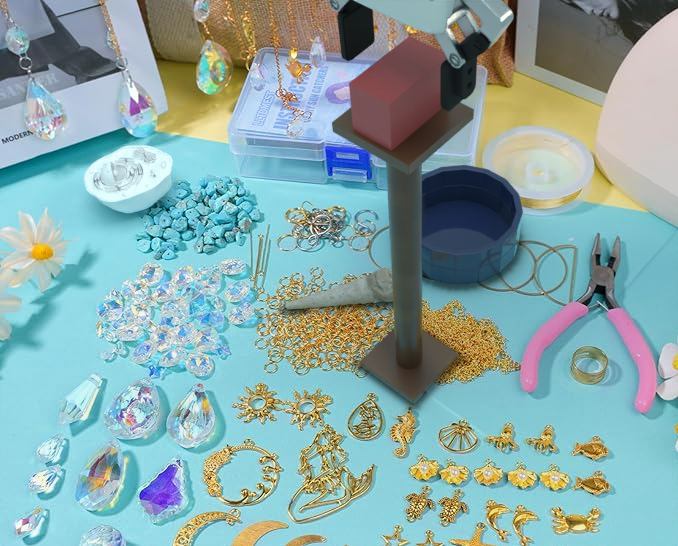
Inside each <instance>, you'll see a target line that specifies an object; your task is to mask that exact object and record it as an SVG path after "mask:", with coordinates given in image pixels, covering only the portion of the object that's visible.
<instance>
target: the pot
mask: <svg viewBox="0 0 678 546" xmlns="http://www.w3.org/2000/svg"><path fill="white" fill-rule="evenodd" d="M523 215H524V210H523V205H522V201H521V196H520V194H519V192H518V191H517V190H516V188H515V187H514V186H513V185H512V184H511V183H510V182H509V181H508V179H506V177H503V176H501V175H499V174H498V173H496V172H494V171H492V170H490V169H488V168H485V167H480V166H475V165H474V166H473V165H470V164H469V165H468V164H458V165H446V166H439V167H438V168H435V169H433V170H430V171H428V172H425V173H422V276H423V275H424V276H425V277H427V278H429V279H430V280H433V281H437V282H441V283H445V284H450V285H466V284H475V283H480V282H483V281H485V280H487V279H491V278H492V277H494V276H496V275H499V274H500V273H501V272H502V271H503V270H504V269H505V268H506V267H507V266H508V265H509V264H510V263H511V262H512V261H514V259H515V255H516V253H517V249H518V246H519V243H520V237H521V229H522V222H523Z"/></svg>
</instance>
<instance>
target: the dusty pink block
mask: <svg viewBox="0 0 678 546" xmlns="http://www.w3.org/2000/svg"><path fill="white" fill-rule="evenodd" d="M446 59H447V58H446V56H445V54H444V53H443V51H442V50H440V49H439V48H437V47H433V46H432V45H430V44H429V43H426V42H424V41H421V40H420V39H417V38H415V37H413V36H411V35H409V36H408V37H406V38H405V39H403V40H402V41H401V42H400V43H398V44H397V45H396V46H394V47H393V48H392V49H390V51H388V52H387V53H385V54H384V55H383V56H381V57H380V58H379V59H377V60H376V61H375V62H374V63H373V64H371V65H370V66H369V67H368V68H366V69H365V70H364V71H362V72H361V73H360V74H358V75H357V76H356V77H354V78H353V79H352V80H351V81H350V82H348V89H349V100H350V108H351V112H352V122H353V130H355V131H356V132H358V133H360V134H362V135H364V136H365V137H367V138H369V139H371V140H373V141H374V142H376V143H378V144H380V145H381V146H383V147H385V148H387V149H389V150H390V151H392V150H393V149H395V148H396V147H397V146H398V145H399V144H401V143H402V142H403V141H404V140H405V139H406V138H408V137H409V136H410V135H411V134H412V133H414V132H415V131H416V130H417V129H418V128H419V127H421V126H422V125H423V124H424V123H425V122H427V121H428V120H429V119H430V118H431V117H432V116H434V115H435V114H436V113H437V112H438V111H440V110H441V109H442V107H441V105H440V68H441V64H442V63H443V62H444V61H445V60H446Z"/></svg>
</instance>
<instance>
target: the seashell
mask: <svg viewBox="0 0 678 546" xmlns="http://www.w3.org/2000/svg"><path fill="white" fill-rule="evenodd" d="M383 302H385V303H391V302H392V303H393V289H392V269H391V268H389V267H384V268H381V269H376V271H374V272H373V273H370V274H366V275H362V276H361V277H360V278H356V279H351V281H350V282H346V283H343V284H341V285H337V286H335V287H332V288H328V289H327V290H321V291H318V292H316V293H313V294H308V295H306V296H303V297H299V298H297V299H293V300H290V301H287V302H286V304H285V308H286V310H300V309H301V310H302V309H312V308H313V309H315V308H324V307H328V308H329V307H330V308H331V307H338V306H347V305H352V306H355V305H358V304H361V305H366V304H368V303H370V304H371V303H373V304H376V303H383Z"/></svg>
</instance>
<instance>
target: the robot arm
mask: <svg viewBox="0 0 678 546" xmlns="http://www.w3.org/2000/svg"><path fill="white" fill-rule="evenodd" d="M328 5H329V7H330V8H331V10H333V11H334V12H336V13H337V14H336V20H337V26H338V27H337V28H338V37H339V47H340V55H341V58H342V60H345V61H347V62H351V61H353V60H354V59H355V58H357V57H358V56H359V55H361V54H362V53H363V52H364V51H366V50H367V49H368V48H369V47H371V46H372V45H373V44H374V43H375V40H376V38H375V36H376V35H375V23H374V12H377V13H379V14H381V15H383V16H386V17H387V18H390V19H392V20H394V21H397V22H399V23H401V24H403V25H405V26H408V27H410V28H413V29H415V30H418V31H420V32H421V33H422V32H423V33H426V34H429V35H433V37H434V38H435V41H436V42H437V44H438V46H439V47H440V49H441V51H442V52H443V53H444V54H445V56H446V58H447V59H446V60H445V61H444V62H443V63H442V64H441V68H440V105H441V107H442V109H444V110H446V111H448V112H449V111H451V110H452V109H453V108H454V107H455V106H456V105H457V104H459V103H462V101H463V100H467V99H468V98H469V97H470V96H472V95H473V93H474V91H475V89H476V87H477V70H478V57H480V56H481V55H482V54H484V53H485V52H487V51H488V50H489V49H490V48H492V46H494V45H495V44H496V43H497V42H499V41H500V39H501V37H502V36H503V34H504V33H505V31H506V30H507V29H508V27H509V26H510V25H511V23H512V22H513V21H514V18H515V17H514V12H513V11H512V9H511V8H510V7H509V6H508V4H506V3H505V2H504V1H503V0H328ZM472 12H473V13H474V14H473V13H472ZM474 15H475V16H476V17H477V18H478V19H479V21H480V25H479V24H478V22H477V20H476V18H475V17H474ZM455 24H456V25H457V26H458V28H459V31H460V32H461V34H462V36H463V38H464V39H463V40H462V41H460V42H459V41H458V39H457V37H456V36H455V34H454V32H453V30H452V28H451V27H452V26H453V25H455Z"/></svg>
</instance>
